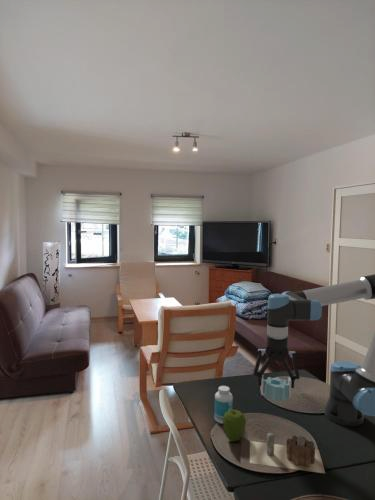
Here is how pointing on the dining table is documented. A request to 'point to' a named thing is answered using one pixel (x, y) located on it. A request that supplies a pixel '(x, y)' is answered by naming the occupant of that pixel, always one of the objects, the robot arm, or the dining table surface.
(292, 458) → the gear
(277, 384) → the gear
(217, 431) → the dining table surface
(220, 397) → the pill bottle
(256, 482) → the dining table surface
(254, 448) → the gear board
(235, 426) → the apple
